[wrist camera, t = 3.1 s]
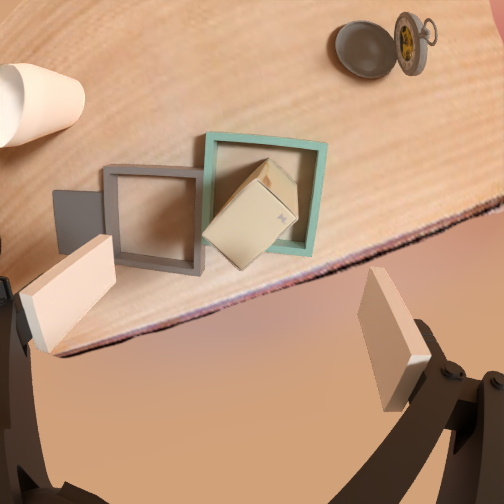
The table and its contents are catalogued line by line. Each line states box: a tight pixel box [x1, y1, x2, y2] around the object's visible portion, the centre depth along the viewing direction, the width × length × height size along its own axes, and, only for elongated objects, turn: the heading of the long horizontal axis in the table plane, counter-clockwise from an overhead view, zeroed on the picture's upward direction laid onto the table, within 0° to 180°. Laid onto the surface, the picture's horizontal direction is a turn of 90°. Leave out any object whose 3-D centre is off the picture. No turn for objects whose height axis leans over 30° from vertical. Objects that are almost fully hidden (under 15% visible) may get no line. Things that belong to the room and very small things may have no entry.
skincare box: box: [202, 158, 299, 271], centre depth 28 cm, size 6×4×12 cm
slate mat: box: [53, 190, 106, 255], centre depth 38 cm, size 9×9×1 cm
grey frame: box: [103, 164, 205, 277], centre depth 35 cm, size 12×12×2 cm
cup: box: [0, 63, 85, 148], centre depth 26 cm, size 9×9×12 cm
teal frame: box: [201, 132, 328, 257], centre depth 33 cm, size 12×12×2 cm
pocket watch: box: [335, 12, 438, 78], centre depth 22 cm, size 8×8×10 cm
